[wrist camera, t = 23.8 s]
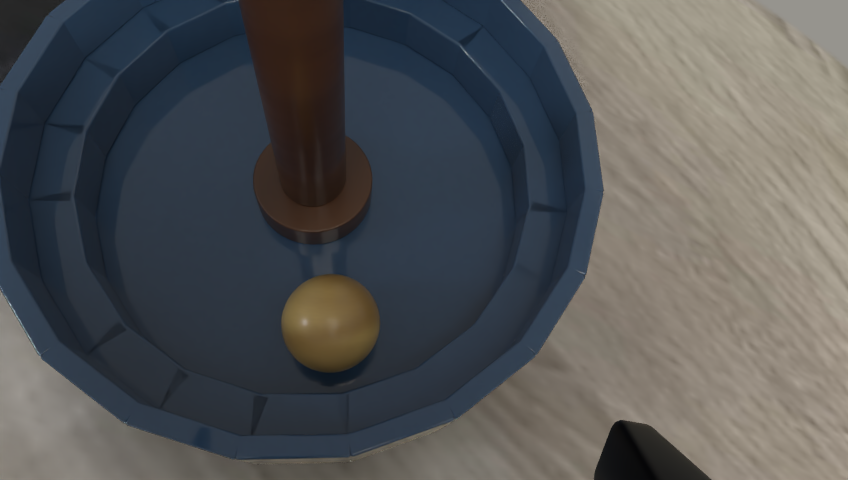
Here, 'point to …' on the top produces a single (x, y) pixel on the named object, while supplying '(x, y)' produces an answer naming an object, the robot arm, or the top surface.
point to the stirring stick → (305, 121)
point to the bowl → (271, 252)
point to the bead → (330, 323)
